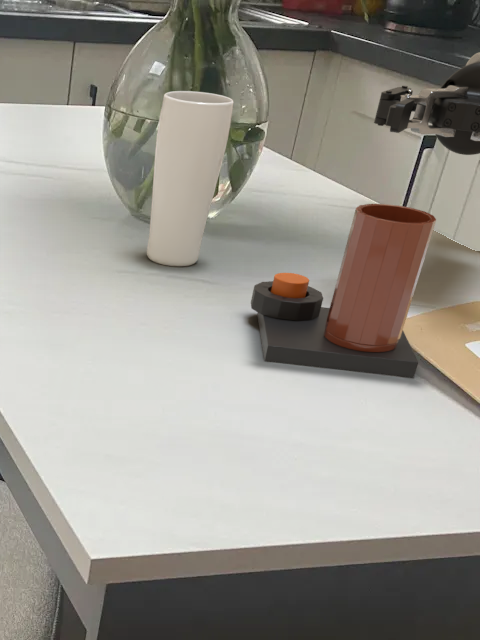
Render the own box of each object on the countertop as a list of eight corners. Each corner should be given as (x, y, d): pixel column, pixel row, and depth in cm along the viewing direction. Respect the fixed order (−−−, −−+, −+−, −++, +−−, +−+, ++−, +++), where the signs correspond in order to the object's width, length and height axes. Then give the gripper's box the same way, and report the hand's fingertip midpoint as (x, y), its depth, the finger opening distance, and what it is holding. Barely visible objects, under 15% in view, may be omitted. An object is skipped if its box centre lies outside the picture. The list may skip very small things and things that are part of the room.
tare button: (303, 292, 95) (307, 274, 94) (306, 302, 93) (310, 284, 92) (269, 288, 95) (273, 270, 94) (271, 299, 93) (275, 280, 92)
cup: (391, 331, 92) (428, 208, 86) (402, 356, 87) (442, 227, 81) (320, 324, 92) (352, 200, 86) (327, 347, 87) (361, 218, 81)
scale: (389, 327, 97) (399, 293, 95) (413, 379, 87) (425, 342, 85) (246, 311, 98) (253, 278, 96) (252, 360, 88) (260, 324, 86)
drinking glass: (135, 249, 113) (159, 88, 104) (199, 253, 113) (228, 93, 104) (142, 268, 107) (167, 100, 98) (209, 272, 107) (240, 105, 98)
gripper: (418, 49, 100) (375, 63, 89) (582, 67, 94) (558, 85, 83) (395, 137, 104) (351, 162, 93) (550, 159, 99) (524, 188, 87)
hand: (449, 125), depth 88 cm, fingers open, 8 cm apart
